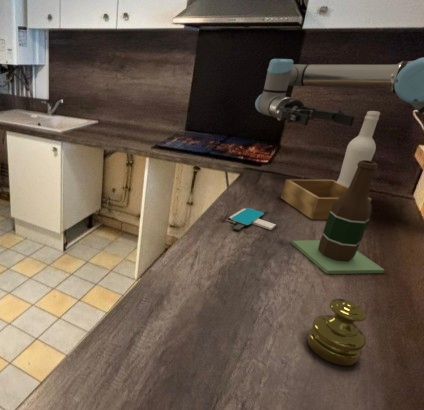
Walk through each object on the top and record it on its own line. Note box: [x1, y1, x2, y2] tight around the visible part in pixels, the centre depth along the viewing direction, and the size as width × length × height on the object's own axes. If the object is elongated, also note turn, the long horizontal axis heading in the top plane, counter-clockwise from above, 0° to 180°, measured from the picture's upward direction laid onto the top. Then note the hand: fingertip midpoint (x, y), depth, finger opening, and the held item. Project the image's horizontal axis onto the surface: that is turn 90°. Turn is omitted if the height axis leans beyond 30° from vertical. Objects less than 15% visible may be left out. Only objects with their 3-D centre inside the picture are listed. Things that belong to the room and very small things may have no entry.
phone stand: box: [224, 206, 277, 232], centre depth 107 cm, size 20×12×2 cm, turn 134°
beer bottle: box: [318, 160, 379, 262], centre depth 85 cm, size 8×8×24 cm
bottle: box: [336, 110, 381, 187], centre depth 123 cm, size 8×8×30 cm
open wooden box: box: [280, 178, 373, 220], centre depth 117 cm, size 17×17×7 cm
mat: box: [291, 239, 385, 275], centre depth 90 cm, size 14×14×1 cm
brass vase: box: [307, 298, 368, 366], centre depth 60 cm, size 7×7×10 cm
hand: (329, 121), depth 103 cm, fingers open, 13 cm apart
